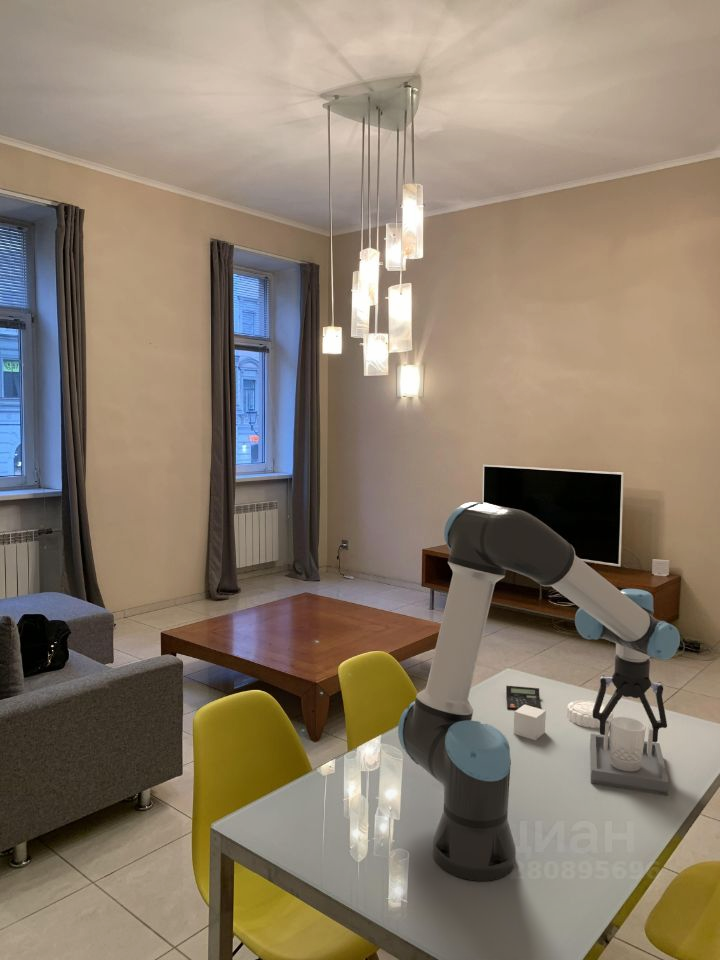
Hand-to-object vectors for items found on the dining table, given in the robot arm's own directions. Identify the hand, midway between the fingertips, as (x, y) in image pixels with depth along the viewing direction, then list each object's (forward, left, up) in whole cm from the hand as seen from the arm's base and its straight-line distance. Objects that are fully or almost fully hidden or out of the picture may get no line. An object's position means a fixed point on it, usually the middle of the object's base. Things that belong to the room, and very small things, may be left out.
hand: (627, 751), depth 169 cm
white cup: (0, 0, -4) cm, 4 cm away
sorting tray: (0, 0, -4) cm, 4 cm away
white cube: (+12, +23, -5) cm, 26 cm away
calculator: (+32, +26, -5) cm, 42 cm away
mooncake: (+27, +8, -5) cm, 29 cm away
